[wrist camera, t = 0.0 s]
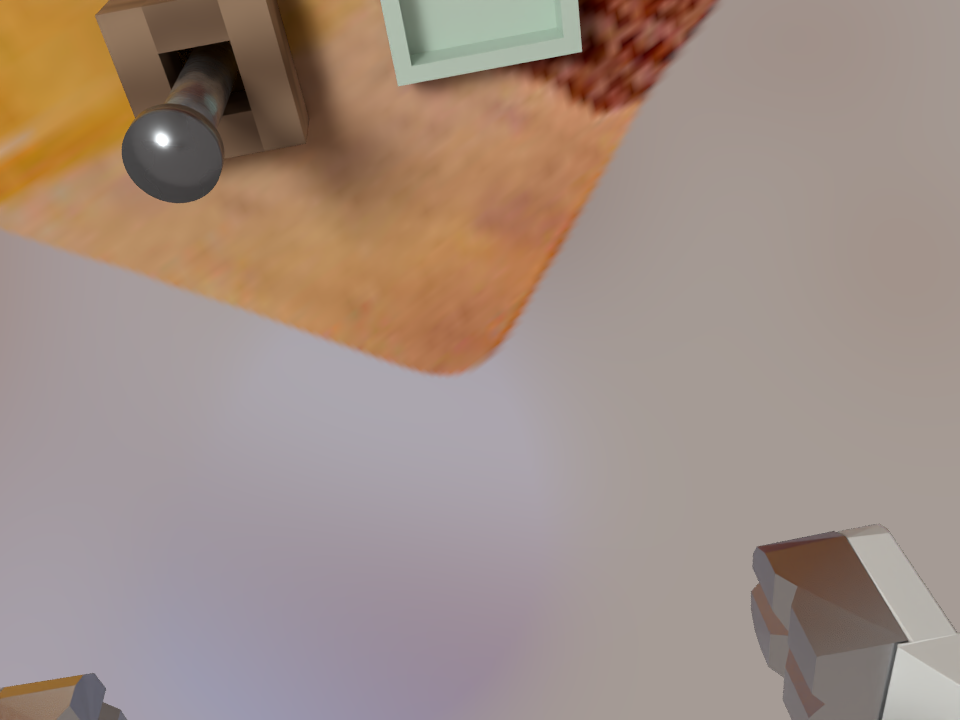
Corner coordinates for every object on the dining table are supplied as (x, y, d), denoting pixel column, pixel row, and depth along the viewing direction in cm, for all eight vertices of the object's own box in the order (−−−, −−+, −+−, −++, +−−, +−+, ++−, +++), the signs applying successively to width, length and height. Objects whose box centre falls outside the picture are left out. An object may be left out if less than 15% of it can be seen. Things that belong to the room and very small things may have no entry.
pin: (166, 30, 52) (106, 122, 39) (240, 16, 52) (203, 104, 39) (191, 103, 54) (142, 210, 42) (262, 90, 54) (233, 193, 42)
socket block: (112, -3, 50) (95, 15, 47) (267, -32, 50) (261, -16, 47) (168, 145, 56) (156, 171, 52) (309, 119, 56) (305, 143, 52)
